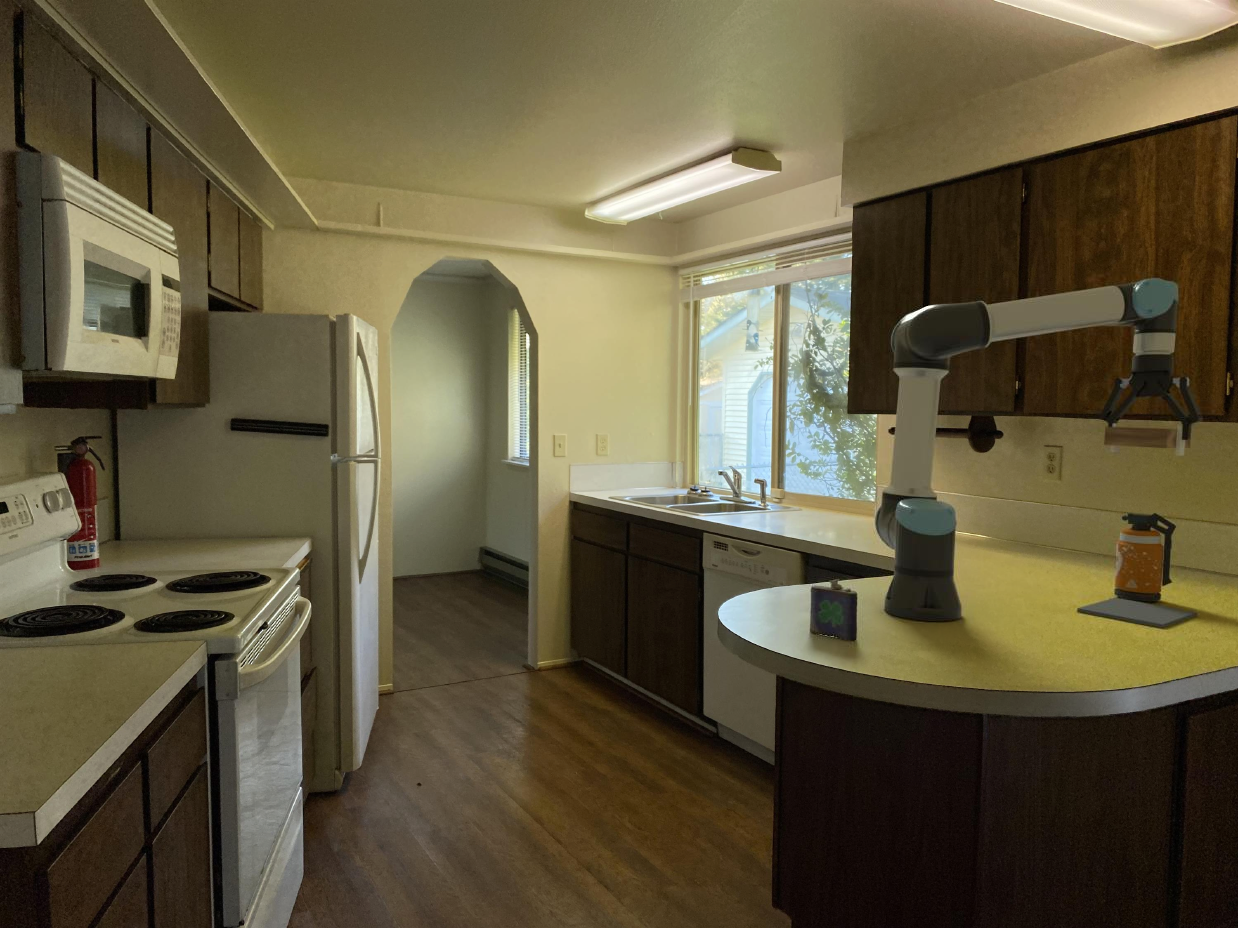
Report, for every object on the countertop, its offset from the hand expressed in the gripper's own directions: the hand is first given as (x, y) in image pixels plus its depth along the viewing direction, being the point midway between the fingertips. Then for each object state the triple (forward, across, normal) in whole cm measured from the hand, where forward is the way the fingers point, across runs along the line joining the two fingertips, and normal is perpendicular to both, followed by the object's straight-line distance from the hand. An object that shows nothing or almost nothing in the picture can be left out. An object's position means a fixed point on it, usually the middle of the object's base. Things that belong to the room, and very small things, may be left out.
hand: (1146, 454), depth 176 cm
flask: (+35, +23, +76) cm, 87 cm away
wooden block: (-2, 0, 0) cm, 2 cm away
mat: (+34, -3, +9) cm, 35 cm away
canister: (+34, +1, -7) cm, 35 cm away
